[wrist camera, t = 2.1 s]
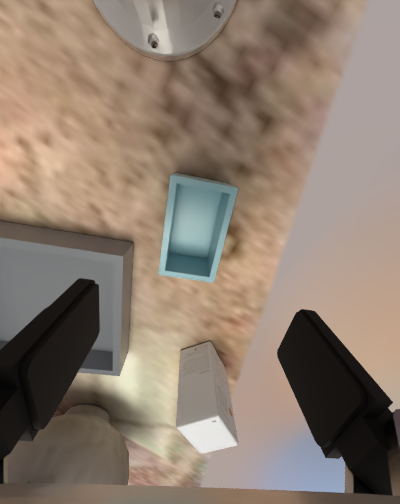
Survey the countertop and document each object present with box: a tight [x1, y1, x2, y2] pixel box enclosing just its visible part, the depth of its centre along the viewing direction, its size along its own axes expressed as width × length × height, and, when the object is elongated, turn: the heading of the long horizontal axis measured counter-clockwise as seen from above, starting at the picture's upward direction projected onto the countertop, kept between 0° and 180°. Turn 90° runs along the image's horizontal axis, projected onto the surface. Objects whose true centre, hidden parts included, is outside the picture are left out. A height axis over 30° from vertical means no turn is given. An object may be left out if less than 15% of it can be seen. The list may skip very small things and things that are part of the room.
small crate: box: [159, 172, 238, 283], centre depth 21 cm, size 10×6×5 cm, turn 169°
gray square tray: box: [0, 221, 134, 376], centre depth 25 cm, size 20×20×4 cm
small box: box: [176, 341, 238, 453], centre depth 29 cm, size 8×6×10 cm
